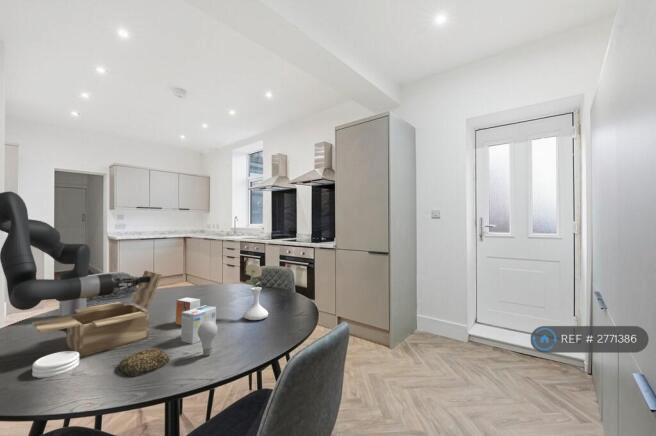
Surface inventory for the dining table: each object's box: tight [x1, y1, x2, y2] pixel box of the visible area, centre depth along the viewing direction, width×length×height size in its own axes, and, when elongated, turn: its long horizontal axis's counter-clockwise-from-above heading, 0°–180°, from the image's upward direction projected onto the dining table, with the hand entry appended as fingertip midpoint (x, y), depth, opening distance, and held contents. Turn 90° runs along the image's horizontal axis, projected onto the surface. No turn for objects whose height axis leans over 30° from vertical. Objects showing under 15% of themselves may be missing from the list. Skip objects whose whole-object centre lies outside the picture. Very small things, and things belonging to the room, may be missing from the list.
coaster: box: [31, 350, 80, 379], centre depth 84 cm, size 10×10×4 cm
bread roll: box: [118, 348, 171, 377], centre depth 87 cm, size 13×12×5 cm
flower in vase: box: [242, 263, 269, 321], centre depth 132 cm, size 13×11×25 cm
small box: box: [175, 296, 201, 326], centre depth 123 cm, size 8×6×10 cm
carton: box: [31, 301, 150, 359], centre depth 100 cm, size 26×29×11 cm
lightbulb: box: [198, 321, 218, 356], centre depth 94 cm, size 6×6×11 cm
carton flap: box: [131, 270, 163, 309], centre depth 114 cm, size 14×1×13 cm, turn 53°
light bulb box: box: [180, 304, 217, 345], centre depth 108 cm, size 11×7×11 cm, turn 154°
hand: (149, 278), depth 114 cm, fingers closed
